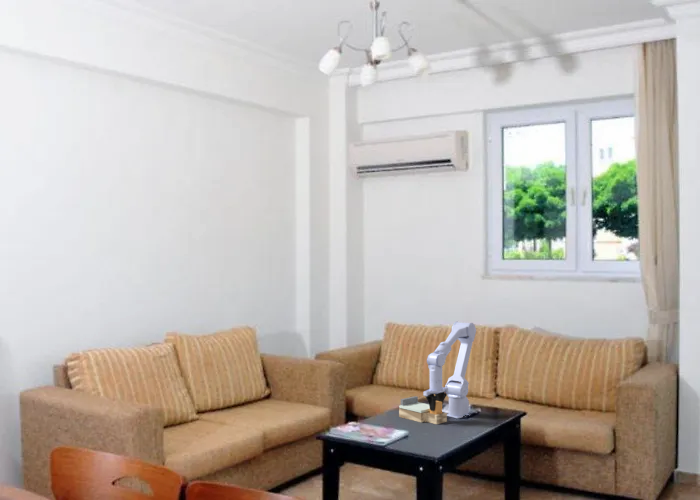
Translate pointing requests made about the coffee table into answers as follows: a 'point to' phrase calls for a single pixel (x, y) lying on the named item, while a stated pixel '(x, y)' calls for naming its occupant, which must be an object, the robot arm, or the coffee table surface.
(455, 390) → the robot arm
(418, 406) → the lid
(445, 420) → the wooden tray
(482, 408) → the coffee table surface
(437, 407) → the orange rectangular block
